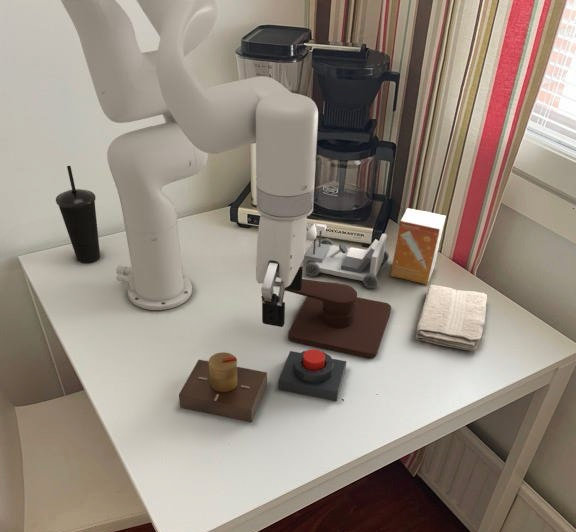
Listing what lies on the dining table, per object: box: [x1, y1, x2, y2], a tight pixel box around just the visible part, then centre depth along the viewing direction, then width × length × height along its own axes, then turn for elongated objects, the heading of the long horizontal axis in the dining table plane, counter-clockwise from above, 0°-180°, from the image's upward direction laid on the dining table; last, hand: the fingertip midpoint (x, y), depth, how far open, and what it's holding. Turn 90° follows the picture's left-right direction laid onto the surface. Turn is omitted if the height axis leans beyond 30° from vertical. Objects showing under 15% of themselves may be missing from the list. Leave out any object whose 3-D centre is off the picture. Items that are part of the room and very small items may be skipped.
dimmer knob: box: [208, 351, 238, 392], centre depth 97 cm, size 4×4×5 cm
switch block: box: [277, 350, 347, 402], centre depth 103 cm, size 10×8×4 cm
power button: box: [303, 348, 325, 371], centre depth 101 cm, size 4×4×2 cm
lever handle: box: [285, 278, 392, 359], centre depth 114 cm, size 16×7×20 cm
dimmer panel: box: [178, 359, 268, 423], centre depth 99 cm, size 12×9×3 cm
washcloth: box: [415, 284, 488, 352], centre depth 117 cm, size 12×18×3 cm, turn 163°
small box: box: [390, 207, 447, 286], centre depth 126 cm, size 8×6×13 cm
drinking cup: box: [55, 165, 101, 264], centre depth 124 cm, size 8×8×20 cm
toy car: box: [303, 222, 390, 290], centre depth 128 cm, size 18×10×12 cm
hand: (282, 305), depth 91 cm, fingers open, 9 cm apart
